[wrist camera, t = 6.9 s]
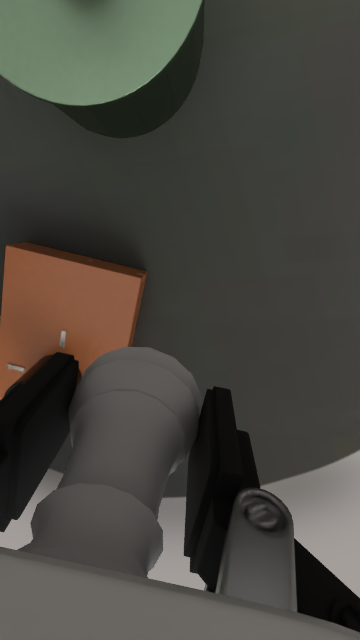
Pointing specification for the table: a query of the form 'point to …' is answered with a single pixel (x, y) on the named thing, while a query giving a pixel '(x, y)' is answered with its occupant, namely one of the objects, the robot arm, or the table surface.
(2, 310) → the knob base block
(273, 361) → the table surface
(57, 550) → the rook chess piece
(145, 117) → the pot
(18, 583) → the robot arm
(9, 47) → the pot lid
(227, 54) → the table surface
